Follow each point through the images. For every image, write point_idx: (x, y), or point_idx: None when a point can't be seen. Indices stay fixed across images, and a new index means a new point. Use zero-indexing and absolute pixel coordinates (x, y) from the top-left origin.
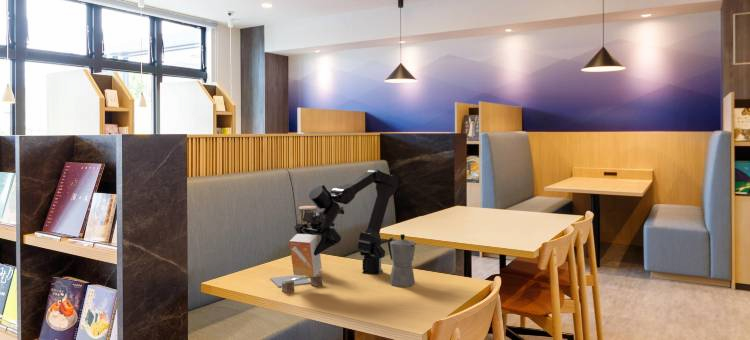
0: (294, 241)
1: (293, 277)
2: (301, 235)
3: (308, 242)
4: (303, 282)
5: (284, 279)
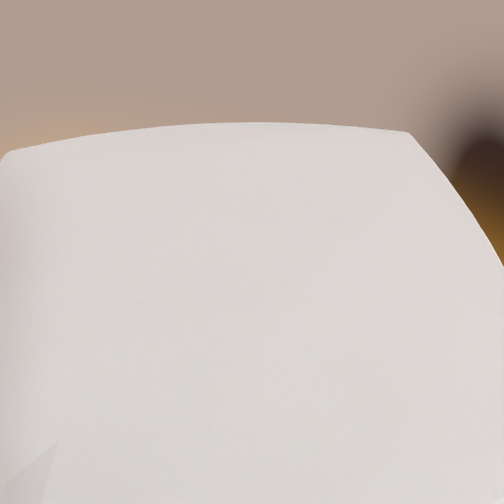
0: (313, 125)
1: None
2: (398, 427)
3: (26, 150)
4: None
5: None
